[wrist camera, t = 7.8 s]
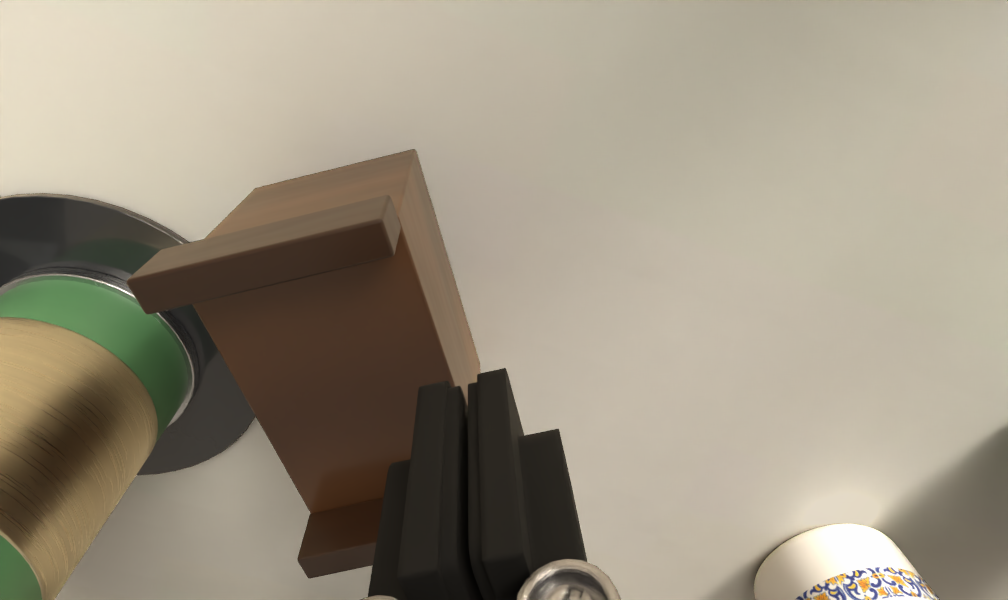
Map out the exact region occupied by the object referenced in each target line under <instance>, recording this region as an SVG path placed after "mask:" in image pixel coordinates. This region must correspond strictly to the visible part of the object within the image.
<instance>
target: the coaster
mask: <svg viewBox="0 0 1008 600" xmlns="http://www.w3.org/2000/svg"><path fill="white" fill-rule="evenodd" d="M186 243H190V242H188V241H187V240H185V239H184V238H182V237H181V236H179V235H178V234H176V233H175V232H173V231H171V230H170V229H168V228H166V227H164V226H162V225H160V224H158V223H156V222H154V221H153V220H151V219H149V218H147V217H144V216H142V215H139V214H137V213H134V212H132V211H129V210H127V209H125V208H122V207H118V206H115V205H112V204H108V203H105V202H102V201H98V200H94V199H88V198H83V197H77V196H72V195H62V194H48V193H35V194H16V195H11V196H5V197H0V287H1V286H3V285H4V284H6V283H7V282H9V281H10V280H12V279H13V278H16V277H18V276H20V275H22V274H25V273H28V272H32V271H35V270H41V269H48V268H78V269H85V270H91V271H96V272H100V273H103V274H106V275H110V276H113V277H115V278H118V279H120V280H123V281H125V282H126V281H127V279H128V278H130V277H131V276H132V275H133V274H134V273H135V272H136V271H138V270H139V269H140V268H141V267H142V266H143V265H144V264H145V263H147V262H148V261H149V260H150V259H151V258H152V257H153V256H154V255H156V254H157V253H158V252H159V251H160V250H162V249H166V248H170V247H174V246H178V245H182V244H186ZM169 311H170V312H171V313H172V314H173V315H174V316H175V317H176V318H177V320H178V321H179V322H180V323H181V325H182V326H183V327H184V329H185V330H186V332H187V334H188V335H189V337H190V339H191V341H192V343H193V345H194V347H195V350H196V354H197V357H198V363H199V382H198V386H197V390H196V392H195V395H194V397H193V399H192V400H191V402H190V404H189V405H188V407H187V408H186V410H185V411H184V413H183V414H182V415H181V416H180V417H179V418H178V419H177V420H176V421H175V422H173V423H172V424H171V425H170V426H168V427H167V428H166V429H165V431H164V432H163V434H162V435H161V437H160V438H159V440H158V441H157V443H156V444H155V446H154V448H153V450H152V452H151V453H150V455H149V457H148V458H147V460H146V461H145V463H144V464H143V466H142V467H141V469H140V470H139V472H138V473H137V475H150V474H160V473H166V472H172V471H177V470H180V469H184V468H188V467H191V466H194V465H196V464H199V463H201V462H204V461H206V460H208V459H210V458H212V457H214V456H215V455H217V454H219V453H221V452H222V451H224V450H225V449H226V448H228V447H229V446H230V445H232V444H233V443H234V442H235V441H237V439H238V438H239V437H240V436H241V435H242V434H243V433H244V432H245V431H246V430H247V428H248V427H249V425H250V424H251V422H252V421H253V419H254V418H255V414H254V412H253V410H252V409H251V407H250V405H249V403H248V402H247V400H246V398H245V396H244V395H243V393H242V391H241V389H240V388H239V386H238V384H237V382H236V380H235V379H234V377H233V375H232V373H231V372H230V370H229V368H228V366H227V365H226V363H225V361H224V359H223V357H222V356H221V354H220V352H219V350H218V349H217V347H216V345H215V343H214V342H213V340H212V338H211V336H210V335H209V333H208V331H207V329H206V327H205V326H204V324H203V322H202V320H201V319H200V317H199V315H198V313H197V312H196V310H195V308H194V306H193V305H192V304H191V305H187V306H183V307H179V308H175V309H170V310H169Z"/></svg>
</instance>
